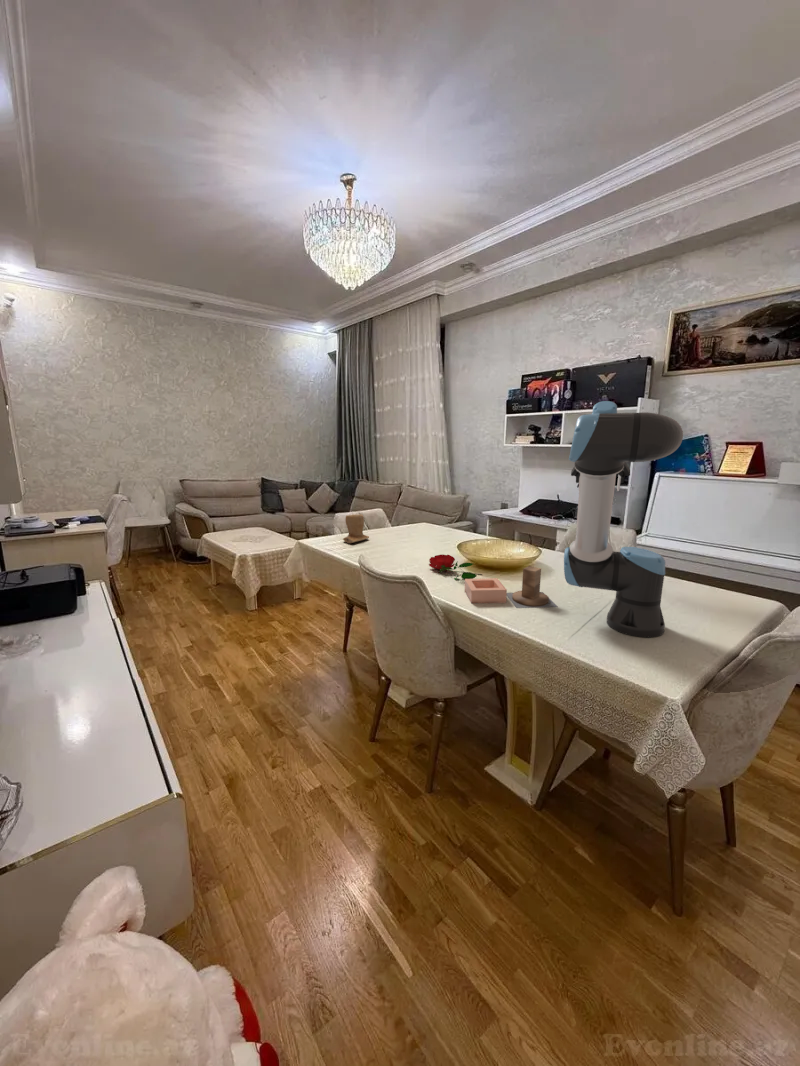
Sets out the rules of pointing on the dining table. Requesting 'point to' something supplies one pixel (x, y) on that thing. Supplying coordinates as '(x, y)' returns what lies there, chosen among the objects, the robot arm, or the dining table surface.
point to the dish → (485, 590)
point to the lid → (531, 589)
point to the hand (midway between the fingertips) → (598, 488)
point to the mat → (517, 605)
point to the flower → (450, 565)
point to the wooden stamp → (355, 528)
